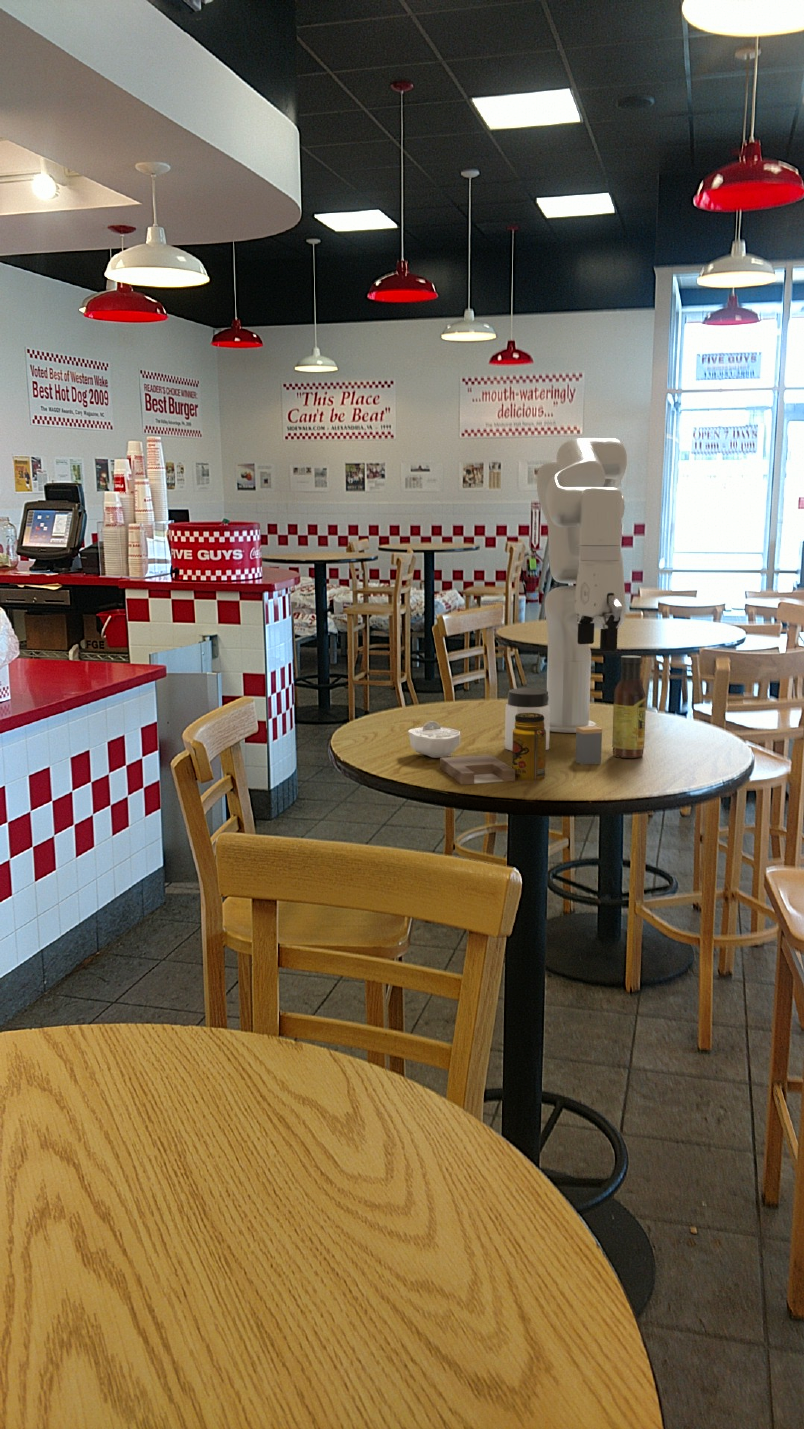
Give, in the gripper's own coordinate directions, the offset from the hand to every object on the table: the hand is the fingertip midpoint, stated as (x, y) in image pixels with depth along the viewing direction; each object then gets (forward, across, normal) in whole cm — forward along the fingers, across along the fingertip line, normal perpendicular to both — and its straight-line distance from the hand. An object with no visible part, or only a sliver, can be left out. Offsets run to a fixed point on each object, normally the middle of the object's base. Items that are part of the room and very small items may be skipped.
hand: (596, 646), depth 201 cm
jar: (+23, -15, -8) cm, 28 cm away
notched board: (+22, +3, -25) cm, 33 cm away
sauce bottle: (+23, -4, +9) cm, 25 cm away
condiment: (+23, +7, -15) cm, 29 cm away
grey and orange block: (+22, -1, -1) cm, 23 cm away
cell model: (+23, -14, -28) cm, 38 cm away
